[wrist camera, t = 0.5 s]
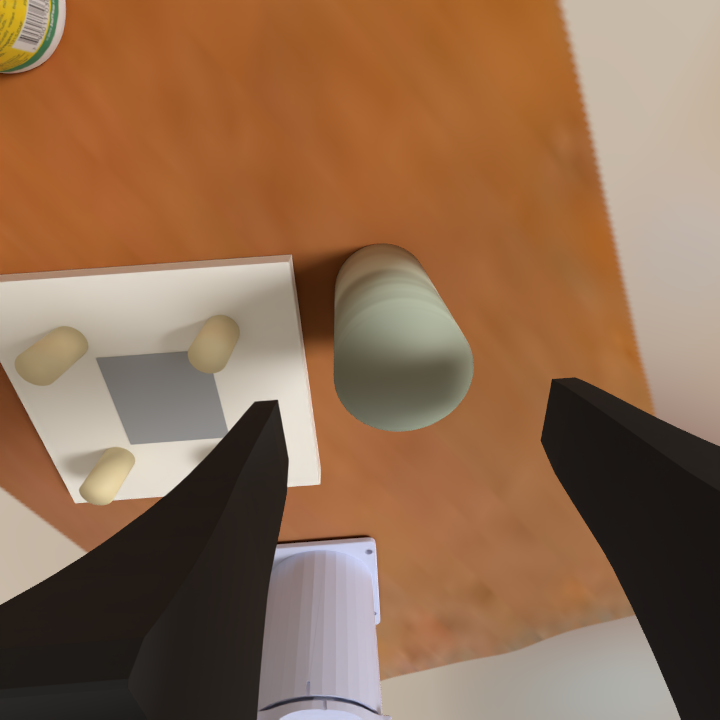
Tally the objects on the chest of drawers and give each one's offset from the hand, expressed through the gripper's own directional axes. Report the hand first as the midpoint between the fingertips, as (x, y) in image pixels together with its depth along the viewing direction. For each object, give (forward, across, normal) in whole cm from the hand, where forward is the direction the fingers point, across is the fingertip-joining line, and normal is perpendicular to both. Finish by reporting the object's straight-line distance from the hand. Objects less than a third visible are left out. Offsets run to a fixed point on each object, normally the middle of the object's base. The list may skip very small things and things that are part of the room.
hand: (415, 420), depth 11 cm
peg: (+10, 0, 0) cm, 10 cm away
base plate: (+10, +11, +4) cm, 16 cm away
